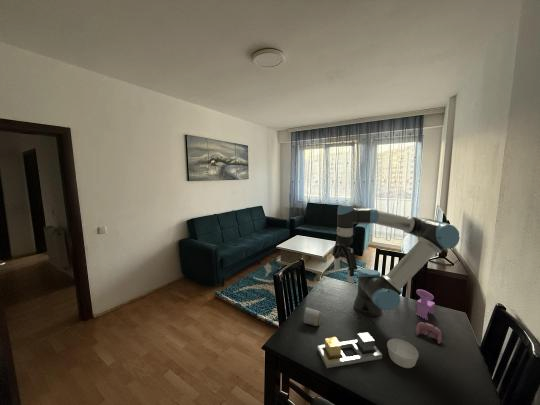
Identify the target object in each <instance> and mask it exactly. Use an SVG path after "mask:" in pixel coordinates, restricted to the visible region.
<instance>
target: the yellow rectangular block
mask: <svg viewBox="0 0 540 405" xmlns="http://www.w3.org/2000/svg"><path fill="white" fill-rule="evenodd" d="M339 342H340V341H339V339H338V338H337V337H336V336H332V337H326V338H324V345H325V351H324V353H325V354H326V356H327V358H328V360H333V359H339V358H341V350H342V349H341V344H340V343H339Z"/></svg>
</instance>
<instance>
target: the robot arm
mask: <svg viewBox="0 0 540 405" xmlns="http://www.w3.org/2000/svg"><path fill="white" fill-rule="evenodd" d="M336 213H337V217H336V218H337V223H336V241H335V243H334V244H335V245H334V248H333V250H332V253H331V255H332V256H333V259H334V260H333V262H334V263H333V264H334V268H333V270H334V271H335V272H336V271H340V267H341V266H340V265H341V262H340V261H341V259H340V258H341V257H340V256H342V254H343V257H345V260H346V264H347V267H348V268H347V281H346V282H347V283H354V279H355V278H354V277H355V271H356V270H358V264H357V260H356V255H355V248H353V247H352V248H351V245H352V244H353V240H354V239H353V238H354V237H353V235H354V224H366V225H368V224H369V225H370V224H373V225H374V224H375V225H378V226H379V225H380V226H384V227H387V228H392V229H395V230H400V231H403V232H404V233H406V234H410V235H411V236H414V237H417V240H418V241H417V242H416V243H415V244H414V245H413V246H412V247H411V249H410V250H409V251H408V252H407V253H406V254H405V255H404V256H403V257H402V258H401V259H400V260H399V261H398V262H397V263H396V265H394V267H393V268H392V269H391V270H390V271H388V273H387V274H385V275H381V272H380V271H379V270H376V269H375V270H374V269H370V268H364V269H363V268H362V269H360V270H359V271H358V274H357V293H356V297H355V299H354V301H353V307H354V309H355V310H356V311H357V312H358V313H360V314H362V315H364V316H367V317H377V316H378V317H379V316H380V315H382V313H383V311H393V310H395V309H397V308H398V307H399V305H400V303H401V297H400V296H401V295H402V294H403V288H404V286H405V285H406V284H407V283H408V282H409V281H410V280H412V278H413V277H414V276H415V275H416V274H417V273H418V272H419V271H420V270H421V269H422V268H423V267H424V265H425V264H427V262H429V260H430V259H431V258H432V257H433V256H434V255H435V254H441V253H442V252H443V251H444V250H447V249H448V250H449V249H453V248H456V246H457V245H458V244H459V242H460V238H461V237H460V232H459V229H458V228H457V227H456V226H455V225H453V224H450V223H449V222H448V223H447V222H442V221H439V220H435V219H430V218H425V217H424V218H423V217H415V216H409V215H408V216H402V215H400V214H399V215H398V214H394V213H390V212H385V211H382V210H378V209H377V208H372V207H369V208H368V207H364V206H360V205H357V204H349V203H347V204H346V203H342V204H339V205H338V206H337V212H336Z"/></svg>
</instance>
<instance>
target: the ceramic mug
mask: <svg viewBox="0 0 540 405" xmlns="http://www.w3.org/2000/svg"><path fill="white" fill-rule="evenodd" d="M321 319H322V312H321V311H319V310H317V309H313V308H311V307H305V309H304V314H303V323H304V324H307V325H310V326H315V327H319V326H320V325H321V324H320V323H321Z"/></svg>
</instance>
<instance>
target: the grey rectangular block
mask: <svg viewBox="0 0 540 405" xmlns="http://www.w3.org/2000/svg"><path fill="white" fill-rule="evenodd" d="M356 340H357V347H358V349H359V350H360V351H361V352H362V354H369V353H374V345H375V341H376V340H375V339H374V338H373V336H371V334H370V333H369V332H368V331H367V332H359V333H357V338H356Z"/></svg>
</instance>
